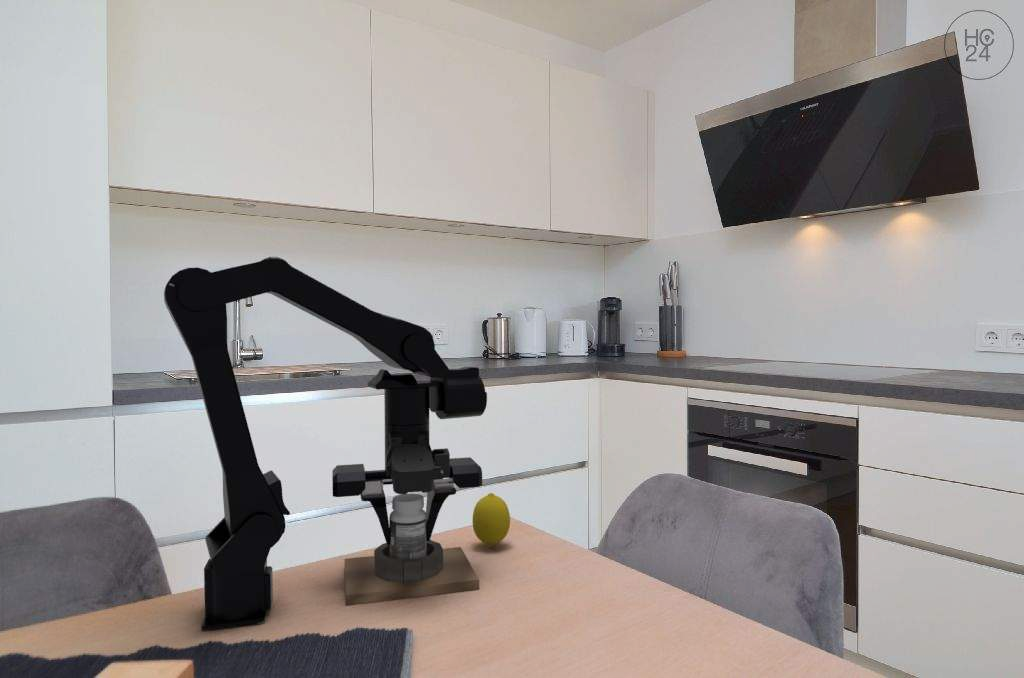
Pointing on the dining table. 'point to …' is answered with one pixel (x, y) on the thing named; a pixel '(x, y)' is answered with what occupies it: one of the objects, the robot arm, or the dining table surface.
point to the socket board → (408, 575)
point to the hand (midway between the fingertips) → (407, 542)
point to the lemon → (491, 519)
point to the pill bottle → (407, 527)
